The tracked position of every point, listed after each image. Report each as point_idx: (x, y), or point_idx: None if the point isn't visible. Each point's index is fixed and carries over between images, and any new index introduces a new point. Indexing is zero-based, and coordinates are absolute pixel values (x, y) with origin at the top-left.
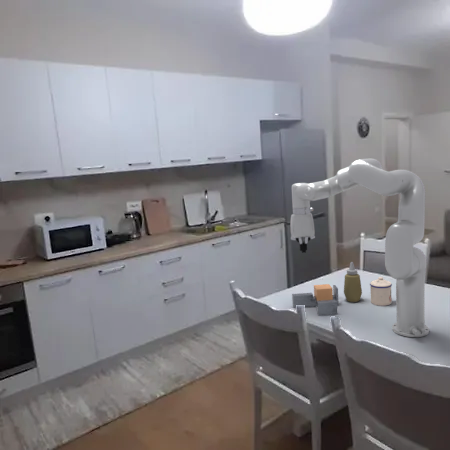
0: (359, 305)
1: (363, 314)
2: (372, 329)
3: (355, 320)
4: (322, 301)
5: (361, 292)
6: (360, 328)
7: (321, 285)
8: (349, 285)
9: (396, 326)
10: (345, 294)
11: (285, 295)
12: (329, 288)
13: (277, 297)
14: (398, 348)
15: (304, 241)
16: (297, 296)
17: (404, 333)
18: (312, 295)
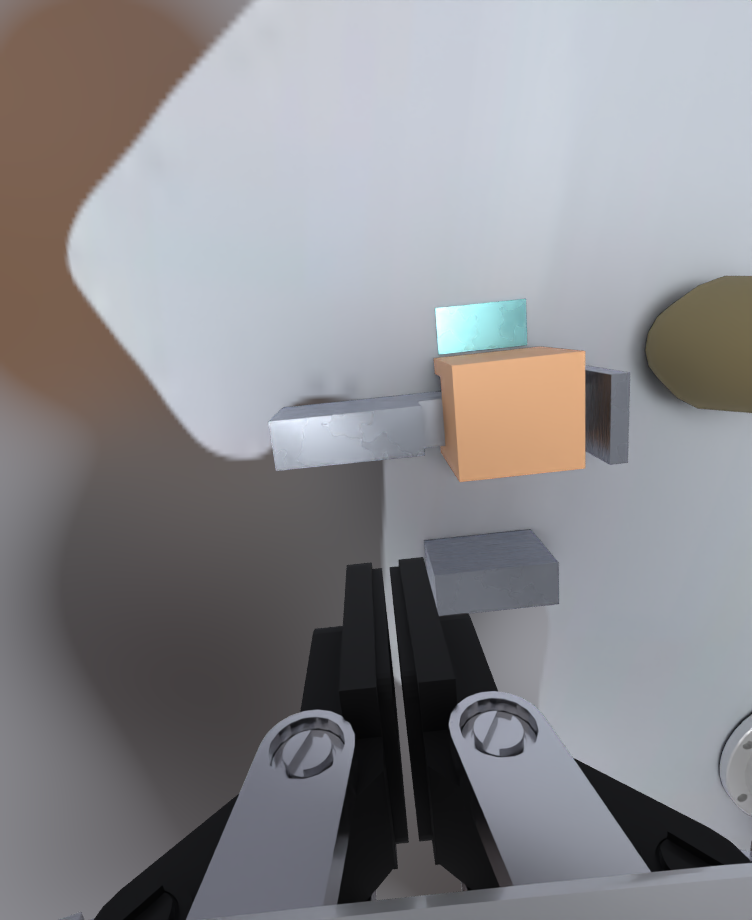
0: (691, 441)
1: (664, 575)
2: (641, 738)
3: (599, 645)
4: (470, 590)
5: None
6: (593, 727)
7: (515, 384)
8: (736, 405)
9: (750, 754)
10: (660, 372)
11: (225, 176)
12: (562, 469)
13: (165, 220)
14: None
15: (462, 854)
16: (310, 466)
17: (748, 813)
18: (420, 454)
